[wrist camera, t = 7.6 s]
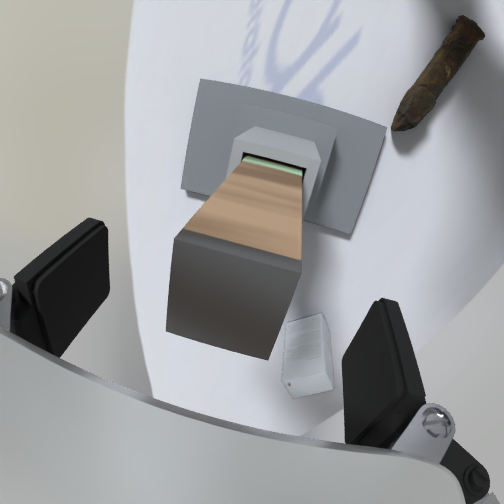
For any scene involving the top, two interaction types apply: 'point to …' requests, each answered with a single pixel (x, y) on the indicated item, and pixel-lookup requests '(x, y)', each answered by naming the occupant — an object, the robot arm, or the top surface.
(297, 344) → the skincare box
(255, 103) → the stand base
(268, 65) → the top surface
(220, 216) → the post
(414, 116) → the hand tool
